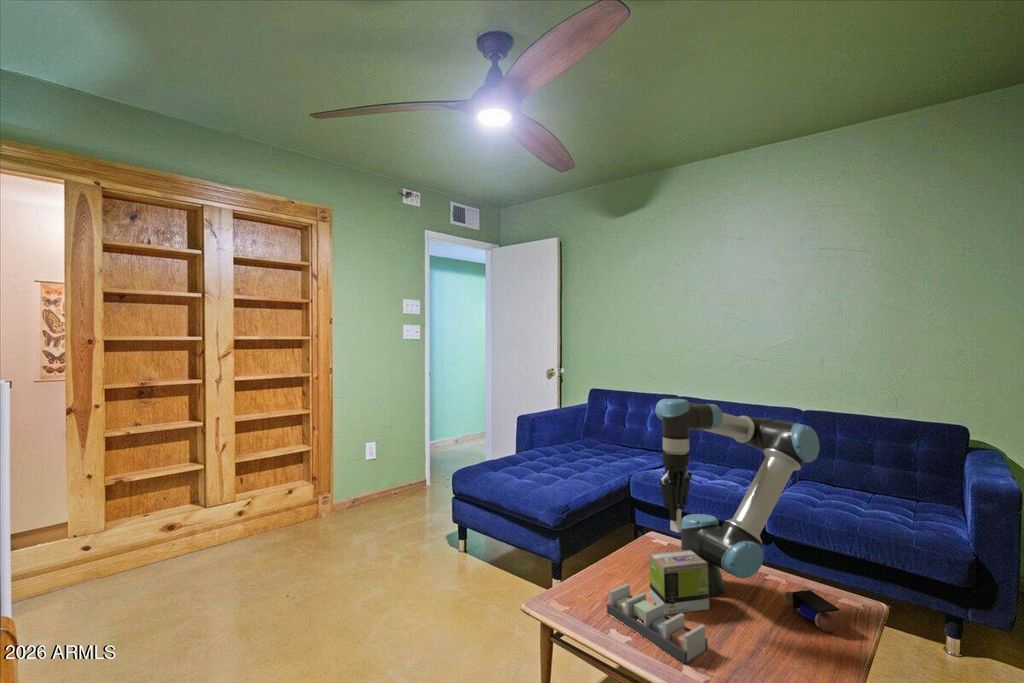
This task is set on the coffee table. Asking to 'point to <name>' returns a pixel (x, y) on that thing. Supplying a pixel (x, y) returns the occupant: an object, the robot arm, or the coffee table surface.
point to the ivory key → (621, 604)
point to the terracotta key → (679, 638)
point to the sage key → (641, 608)
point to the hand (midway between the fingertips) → (675, 530)
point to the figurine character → (813, 608)
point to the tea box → (679, 581)
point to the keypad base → (692, 639)
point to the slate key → (658, 625)
